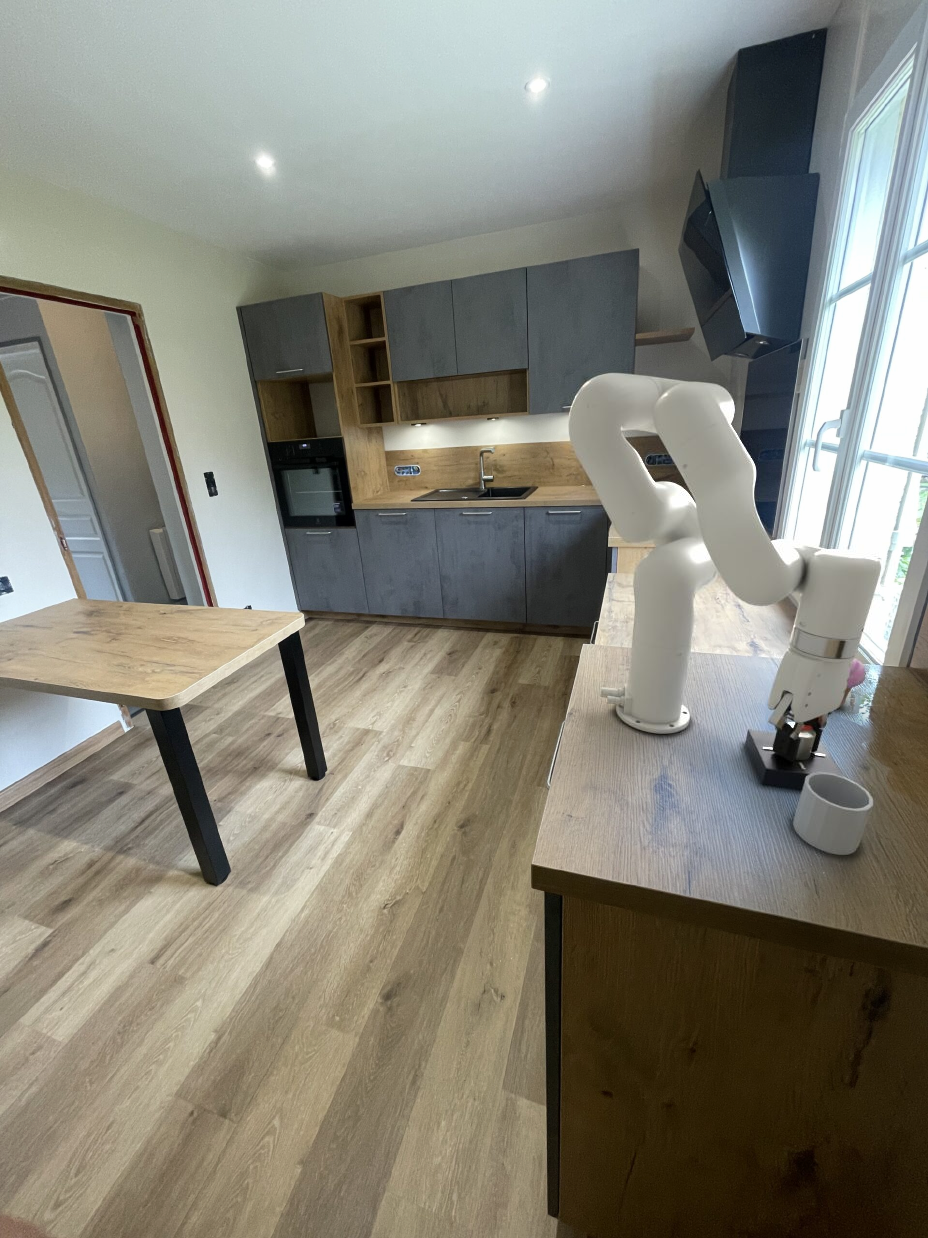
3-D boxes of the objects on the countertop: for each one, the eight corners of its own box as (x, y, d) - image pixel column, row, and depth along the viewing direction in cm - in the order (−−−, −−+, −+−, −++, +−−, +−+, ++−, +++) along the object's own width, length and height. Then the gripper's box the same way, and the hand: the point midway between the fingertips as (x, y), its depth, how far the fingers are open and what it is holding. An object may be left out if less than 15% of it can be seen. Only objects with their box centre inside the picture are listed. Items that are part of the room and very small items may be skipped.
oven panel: (762, 785, 71) (766, 767, 70) (744, 744, 80) (748, 728, 79) (841, 796, 68) (847, 778, 67) (814, 753, 77) (818, 736, 76)
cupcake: (795, 703, 91) (808, 656, 87) (800, 684, 97) (812, 639, 93) (855, 719, 86) (871, 668, 82) (856, 698, 92) (870, 650, 88)
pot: (803, 849, 60) (817, 805, 58) (785, 810, 66) (797, 768, 64) (867, 860, 59) (884, 815, 56) (843, 819, 65) (857, 776, 62)
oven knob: (793, 762, 71) (800, 738, 69) (771, 746, 74) (777, 722, 73) (816, 757, 72) (823, 733, 70) (793, 742, 75) (799, 718, 74)
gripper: (833, 621, 73) (805, 724, 79) (755, 642, 66) (732, 753, 73) (891, 639, 66) (855, 750, 73) (811, 665, 60) (780, 783, 67)
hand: (794, 750), depth 73 cm, fingers closed on oven knob, 4 cm apart
